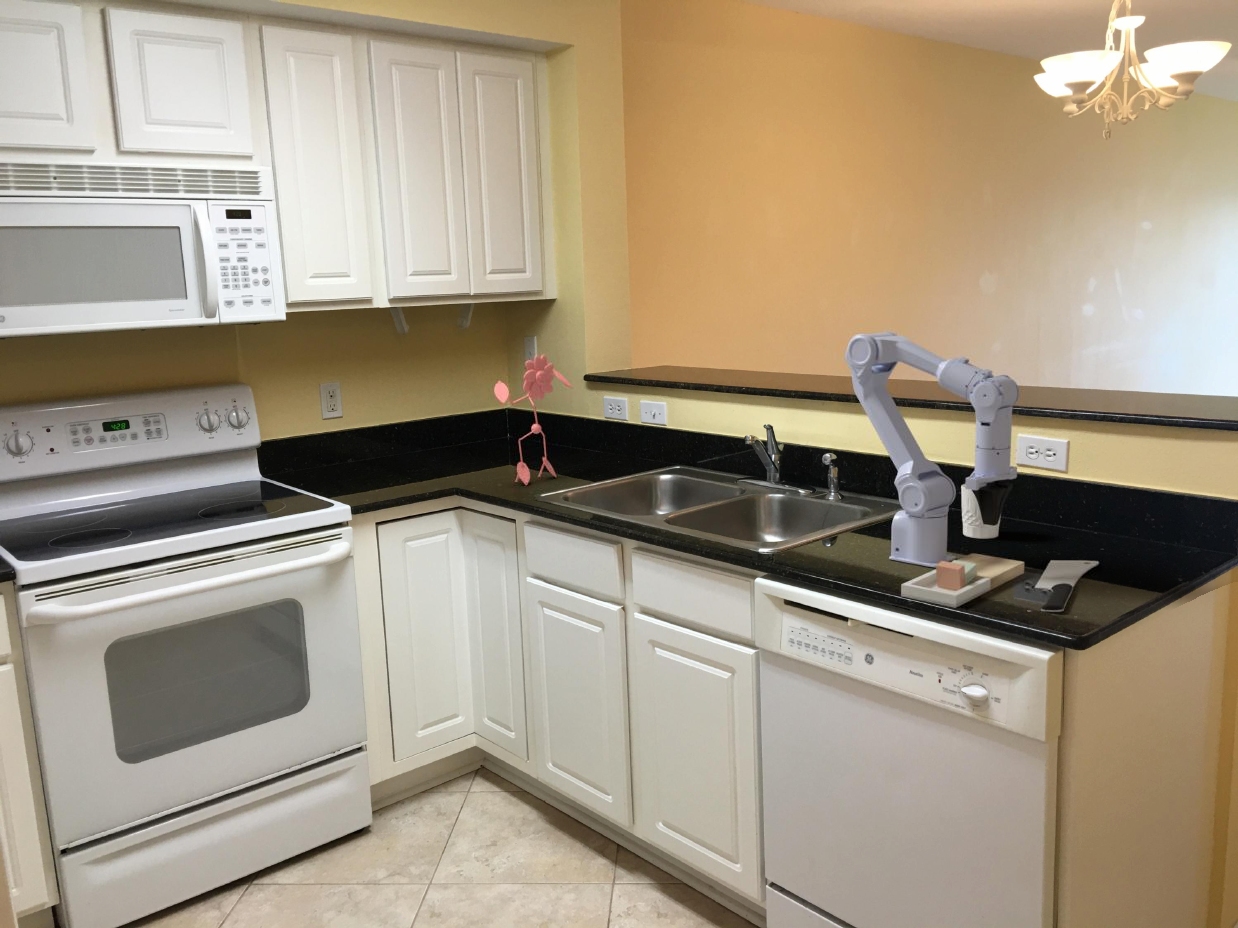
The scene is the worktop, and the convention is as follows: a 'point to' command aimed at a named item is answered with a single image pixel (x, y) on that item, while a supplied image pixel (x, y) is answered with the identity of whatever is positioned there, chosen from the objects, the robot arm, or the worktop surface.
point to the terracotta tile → (950, 576)
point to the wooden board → (994, 568)
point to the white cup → (975, 517)
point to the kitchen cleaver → (1061, 582)
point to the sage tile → (968, 570)
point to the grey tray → (942, 590)
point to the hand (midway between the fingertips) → (990, 524)
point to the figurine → (537, 385)
